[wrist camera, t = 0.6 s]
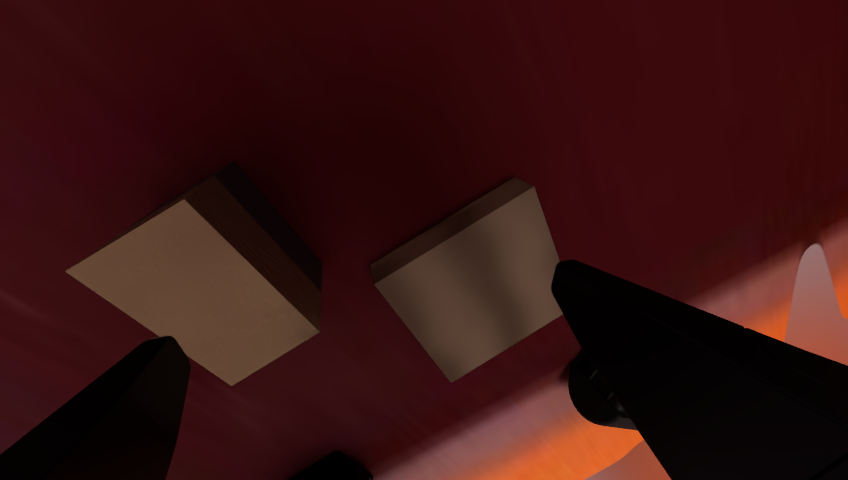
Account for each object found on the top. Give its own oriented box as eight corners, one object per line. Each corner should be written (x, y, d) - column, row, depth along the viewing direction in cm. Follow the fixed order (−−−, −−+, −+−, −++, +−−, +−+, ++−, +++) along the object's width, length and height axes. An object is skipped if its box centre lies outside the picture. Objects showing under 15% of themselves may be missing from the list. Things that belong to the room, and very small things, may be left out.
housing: (259, 301, 21) (231, 386, 15) (156, 207, 18) (64, 271, 11) (322, 262, 22) (319, 332, 15) (234, 160, 18) (184, 199, 11)
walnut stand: (441, 360, 28) (451, 382, 26) (369, 265, 22) (374, 284, 20) (556, 289, 28) (575, 306, 26) (514, 176, 22) (534, 186, 20)
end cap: (552, 380, 34) (599, 441, 28) (591, 329, 32) (650, 383, 26) (609, 392, 38) (660, 447, 32) (647, 347, 36) (708, 397, 31)
